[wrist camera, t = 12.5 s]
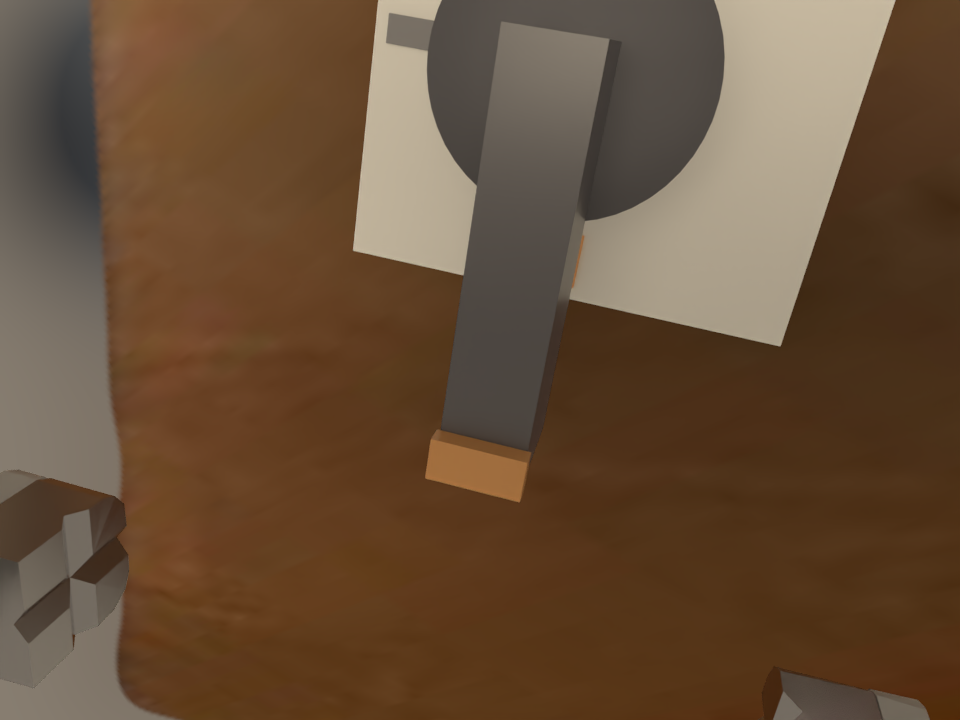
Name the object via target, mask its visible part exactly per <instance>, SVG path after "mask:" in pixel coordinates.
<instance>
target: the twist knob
mask: <svg viewBox="0 0 960 720" xmlns="http://www.w3.org/2000/svg"><path fill="white" fill-rule="evenodd" d="M724 61H725V54H724V39H723V32H722V27H721V22H720V17H719V13H718V10H717V7H716V4H715V1H714V0H442V1H441V3H440V5H439V8H438V10H437V13H436V16H435V20H434V23H433V26H432V30H431V35H430V41H429V46H428V56H427V83H428V93H429V98H430V104H431V109H432V112H433V116H434V119H435V122H436V125H437V128H438V130H439V133H440V135H441V137H442V139H443V142H444V144H445V146H446V147H447V149H448V151H449V152H450V154H451V156H452V157H453V159H454V161H455V162H456V163H457V164H458V166H459V167H460V168H461V169H462V171H463V172H464V173H465V175H466V176H467V177H468V178H469V179H470V180H471V181H472V182H473V183H474V184H475V185H476V186H477V188H476V195H475V202H474V209H473V215H472V222H471V229H470V236H469V242H468V249H467V256H466V263H465V269H464V276H463V283H462V290H461V296H460V303H459V310H458V317H457V323H456V330H455V337H454V344H453V350H452V357H451V364H450V371H449V377H448V384H447V391H446V398H445V404H444V411H443V418H442V425H441V430H438V429H437V430H436V432H435V433H434V435H433V437H432V438H431V442H430V449H429V456H428V463H427V469H426V476H425V478H426V479H430V480H434V481H438V482H442V483H446V484H449V485H453V486H457V487H461V488H465V489H469V490H473V491H477V492H481V493H485V494H489V495H492V496H496V497H500V498H504V499H508V500H512V501H516V502H520V500H521V497H522V495H523V492H524V487H525V482H526V477H527V472H528V468H529V465H530V462H531V460H532V457H533V454H534V451H535V448H536V446H537V443H538V440H539V437H540V434H541V432H542V429H543V425H544V420H545V415H546V410H547V405H548V401H549V396H550V391H551V386H552V381H553V376H554V371H555V366H556V361H557V356H558V352H559V347H560V342H561V337H562V332H563V327H564V322H565V317H566V312H567V308H568V303H569V298H570V293H571V288H572V283H573V278H574V273H575V268H576V263H577V259H578V254H579V249H580V244H581V239H582V234H583V229H584V224H585V221H590V220H597V219H601V218H605V217H609V216H612V215H616V214H618V213H621V212H623V211H626V210H628V209H631V208H633V207H635V206H637V205H638V204H640V203H642V202H644V201H646V200H647V199H649V198H651V197H652V196H653V195H655V194H656V193H657V192H659V191H660V190H661V189H663V188H664V187H665V186H667V185H668V184H669V183H670V182H671V181H672V180H673V179H674V178H675V177H676V176H677V175H678V174H679V173H680V172H681V171H682V170H683V168H684V167H685V166H686V165H687V163H688V162H689V161H690V160H691V158H692V157H693V156H694V154H695V153H696V151H697V149H698V148H699V146H700V145H701V143H702V141H703V140H704V138H705V136H706V134H707V132H708V129H709V127H710V125H711V123H712V121H713V118H714V115H715V112H716V109H717V106H718V103H719V99H720V94H721V89H722V83H723V77H724Z"/></svg>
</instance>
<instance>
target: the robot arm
mask: <svg viewBox="0 0 960 720" xmlns="http://www.w3.org/2000/svg"><path fill="white" fill-rule="evenodd" d="M125 527H126V517H125V507H124V503H122V502H121V501H120V500H119V499H117V498H116V497H115V496H112V495H108V494H104V493H101V492H97V491H94V490H90V489H87V488H83V487H79V486H76V485H73V484H69V483H65V482H62V481H58V480H55V479H52V478H46V477H43V476H39V475H36V474H32V473H28V472H25V471H21V470H8V471H3V472H1V473H0V679H3V680H6V681H10V682H13V683H17V684H20V685H24V686H28V687H31V688H34V687H36V686H37V685H38V684H39V683H40V682H41V681H42V680H43V679H44V678H45V677H46V676H47V675H48V674H49V673H50V672H51V671H52V670H53V669H54V668H55V667H56V666H57V665H58V664H59V663H60V662H61V661H63V660H64V659H65V658H66V657H67V656H68V655H69V654H70V653H71V652H72V651H73V648H74V638H75V635H76V634H78V633H80V632H83V631H86V630H89V629H91V628H94V627H97V626H99V625H100V624H101V623H102V622H103V621H104V620H105V618H106V617H108V616H109V614H111V613H112V611H113V610H114V609H115V607H116V605H117V603H118V601H119V600H120V598H121V596H122V594H123V592H124V590H125V588H126V583H127V578H128V573H129V561H128V554H127V552H126V551H125V549H124V548H123V546H122V545H121V543H120V541H119V540H118V538H117V537H118V535H119V534H120V533H121V532H122V531H123V529H124V528H125ZM762 701H763V711H764V716H763V717H762V718H760V719H758V720H930V719H929V716H928V713H927V711H926V708H925V707H924V706H923V705H922V704H921V703H920V702H919V701H918V700H915V699H911V698H907V697H902V696H898V695H894V694H889V693H885V692H881V691H876V690H872V689H868V690H865V689H862V688H858V687H854V686H850V685H846V684H842V683H838V682H834V681H830V680H827V679H823V678H819V677H815V676H811V675H807V674H803V673H799V672H795V671H791V670H787V669H783V668H779V667H775V666H774V667H773V668H772V670H771V671H770V673H769V675H768V677H767V679H766V682H765V685H764V688H763V691H762Z"/></svg>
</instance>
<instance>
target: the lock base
mask: <svg viewBox="0 0 960 720" xmlns="http://www.w3.org/2000/svg"><path fill="white" fill-rule="evenodd" d="M441 1H442V0H378V8H377V18H376V28H375V38H374V48H373V58H372V68H371V78H370V88H369V97H368V107H367V117H366V127H365V137H364V147H363V157H362V167H361V177H360V187H359V196H358V206H357V216H356V226H355V236H354V246H353V251H357V252H362V253H366V254H371V255H375V256H379V257H384V258H388V259H393V260H397V261H402V262H406V263H411V264H415V265H420V266H424V267H428V268H433V269H437V270H442V271H446V272H451V273H455V274H460V275H464V269H465V263H466V256H467V249H468V242H469V236H470V229H471V222H472V215H473V209H474V202H475V195H476V188H477V186H476V185H475V184H474V183H473V182H472V181H471V180H470V179H469V178H468V177H467V176H466V175H465V173H464V172H463V171H462V169H461V168H460V167H459V166H458V164H457V163H456V162H455V161H454V159H453V157H452V156H451V154H450V152H449V151H448V149H447V147H446V146H445V144H444V142H443V139H442V137H441V135H440V133H439V130H438V128H437V125H436V122H435V119H434V116H433V112H432V109H431V104H430V98H429V93H428V83H427V56H428V46H429V41H430V35H431V30H432V26H433V23H434V20H435V16H436V13H437V10H438V8H439V5H440V3H441ZM714 1H715V4H716V7H717V10H718V13H719V17H720V22H721V27H722V32H723V39H724V54H725V61H724V77H723V83H722V89H721V94H720V99H719V103H718V106H717V109H716V112H715V115H714V118H713V121H712V123H711V125H710V127H709V129H708V132H707V134H706V136H705V138H704V140H703V141H702V143H701V145H700V146H699V148H698V149H697V151H696V153H695V154H694V156H693V157H692V158H691V160H690V161H689V162H688V163H687V165H686V166H685V167H684V168H683V170H682V171H681V172H680V173H679V174H678V175H677V176H676V177H675V178H674V179H673V180H672V181H671V182H670V183H669V184H668V185H667V186H665V187H664V188H663V189H661V190H660V191H659V192H657V193H656V194H655V195H653V196H652V197H651V198H649V199H647V200H646V201H644V202H642V203H640V204H638V205H637V206H635V207H633V208H631V209H628V210H626V211H623V212H621V213H618V214H616V215H612V216H609V217H605V218H601V219H597V220H590V221H585V224H584V229H583V234H582V239H581V244H580V249H579V254H578V259H577V263H576V268H575V273H574V278H573V283H572V288H571V293H570V298H569V299H571V300H576V301H580V302H584V303H589V304H593V305H598V306H602V307H607V308H611V309H616V310H620V311H625V312H629V313H633V314H638V315H642V316H647V317H651V318H656V319H660V320H665V321H669V322H674V323H678V324H682V325H687V326H691V327H696V328H700V329H705V330H709V331H714V332H718V333H723V334H727V335H732V336H736V337H740V338H745V339H749V340H754V341H758V342H763V343H767V344H772V345H776V346H781V343H782V340H783V337H784V334H785V331H786V328H787V325H788V322H789V319H790V316H791V313H792V310H793V307H794V304H795V301H796V298H797V295H798V292H799V289H800V286H801V283H802V280H803V277H804V274H805V271H806V268H807V265H808V262H809V259H810V256H811V253H812V250H813V247H814V244H815V241H816V238H817V235H818V232H819V229H820V226H821V223H822V220H823V217H824V214H825V211H826V208H827V205H828V202H829V199H830V196H831V193H832V190H833V187H834V184H835V181H836V178H837V175H838V172H839V169H840V166H841V163H842V160H843V156H844V153H845V150H846V147H847V144H848V141H849V138H850V135H851V132H852V129H853V126H854V123H855V120H856V117H857V114H858V111H859V108H860V105H861V102H862V99H863V96H864V93H865V90H866V87H867V84H868V81H869V78H870V75H871V72H872V69H873V66H874V63H875V60H876V57H877V54H878V51H879V48H880V45H881V42H882V39H883V36H884V33H885V30H886V27H887V24H888V21H889V18H890V15H891V12H892V9H893V6H894V3H895V0H714Z"/></svg>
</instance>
